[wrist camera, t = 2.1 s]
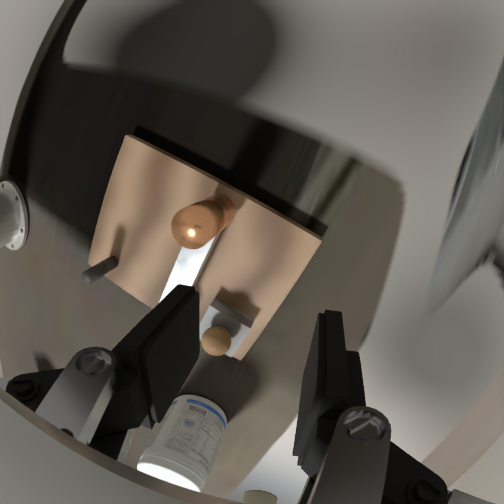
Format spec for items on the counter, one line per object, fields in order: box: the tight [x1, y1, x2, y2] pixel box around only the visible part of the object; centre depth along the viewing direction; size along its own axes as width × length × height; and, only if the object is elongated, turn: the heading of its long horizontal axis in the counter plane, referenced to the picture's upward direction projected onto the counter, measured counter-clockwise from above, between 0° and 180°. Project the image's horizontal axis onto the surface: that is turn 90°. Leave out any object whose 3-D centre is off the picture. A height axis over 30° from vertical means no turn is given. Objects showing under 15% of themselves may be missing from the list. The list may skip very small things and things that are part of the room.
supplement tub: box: [137, 395, 227, 492], centre depth 36 cm, size 10×10×15 cm
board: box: [82, 135, 322, 361], centre depth 30 cm, size 24×18×7 cm
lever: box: [160, 194, 236, 301], centre depth 27 cm, size 18×4×7 cm, turn 152°
